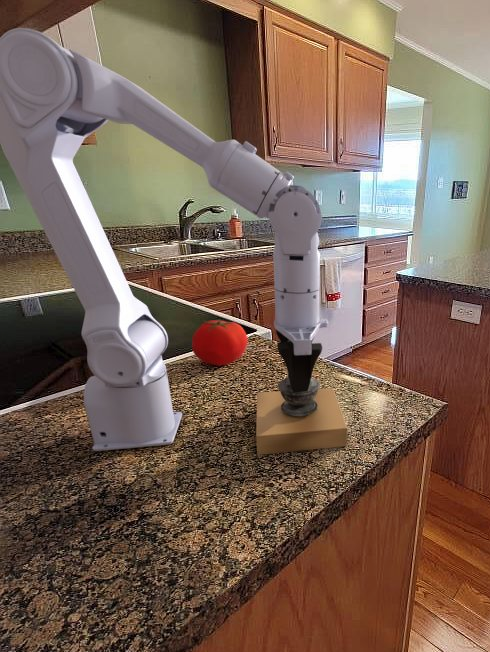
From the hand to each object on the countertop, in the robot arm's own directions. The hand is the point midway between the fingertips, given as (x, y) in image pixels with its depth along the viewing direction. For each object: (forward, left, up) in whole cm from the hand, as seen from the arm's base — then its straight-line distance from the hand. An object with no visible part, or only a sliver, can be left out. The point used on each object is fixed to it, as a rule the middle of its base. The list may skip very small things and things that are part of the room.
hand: (298, 383), depth 56 cm
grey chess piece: (0, 0, -4) cm, 4 cm away
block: (0, 0, -7) cm, 7 cm away
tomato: (-13, +26, -8) cm, 30 cm away
